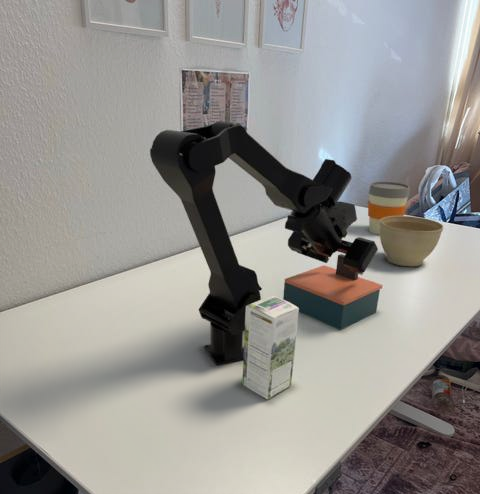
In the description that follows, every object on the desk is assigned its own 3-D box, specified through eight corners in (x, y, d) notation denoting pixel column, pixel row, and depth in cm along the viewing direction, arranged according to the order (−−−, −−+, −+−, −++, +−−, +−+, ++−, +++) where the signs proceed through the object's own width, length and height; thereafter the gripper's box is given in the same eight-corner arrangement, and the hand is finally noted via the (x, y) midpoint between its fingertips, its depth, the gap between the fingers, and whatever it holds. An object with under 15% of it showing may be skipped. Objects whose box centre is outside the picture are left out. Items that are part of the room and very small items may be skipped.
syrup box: (265, 372, 80) (270, 293, 74) (292, 387, 77) (299, 305, 70) (241, 385, 77) (243, 303, 70) (268, 401, 73) (273, 316, 67)
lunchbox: (319, 290, 113) (321, 269, 110) (376, 312, 102) (380, 289, 100) (282, 304, 105) (284, 282, 103) (340, 330, 95) (343, 306, 92)
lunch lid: (323, 268, 111) (325, 246, 108) (382, 288, 101) (386, 265, 98) (284, 282, 103) (285, 259, 100) (343, 305, 92) (347, 280, 90)
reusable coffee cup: (407, 230, 160) (415, 184, 154) (396, 239, 151) (404, 191, 144) (370, 224, 166) (376, 180, 160) (358, 232, 157) (364, 185, 150)
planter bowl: (448, 267, 128) (457, 228, 123) (399, 274, 123) (406, 233, 118) (408, 249, 142) (415, 213, 137) (362, 255, 136) (368, 217, 131)
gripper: (380, 199, 85) (402, 246, 97) (300, 183, 97) (328, 226, 109) (348, 250, 84) (374, 292, 96) (271, 227, 96) (303, 266, 108)
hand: (344, 266), depth 102 cm, fingers open, 9 cm apart
